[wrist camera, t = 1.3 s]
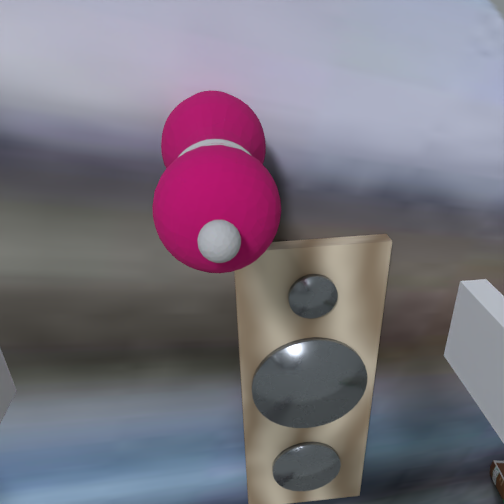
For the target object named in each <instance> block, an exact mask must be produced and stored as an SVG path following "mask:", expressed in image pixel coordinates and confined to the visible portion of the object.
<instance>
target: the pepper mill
mask: <svg viewBox="0 0 504 504" xmlns="http://www.w3.org/2000/svg"><path fill="white" fill-rule="evenodd" d="M161 148H162V157H163V161H164V164H165V166H166V168H167V169H166V170H165V172H164V173H163V174H162V176H161V178H160V180H159V183H158V185H157V187H156V190H155V193H154V200H153V219H154V223H155V227H156V230H157V233H158V235H159V238H160V240H161V241H162V243H163V244H164V246H165V247H166V249H167V250H168V251H169V252H170V253H171V254H172V255H173V256H174V257H175V258H176V259H177V260H179V261H180V262H182V263H184V264H185V265H187V266H189V267H191V268H194V269H197V270H200V271H205V272H209V273H225V272H232V271H235V270H239V269H242V268H244V267H246V266H248V265H250V264H252V263H253V262H254V261H256V260H257V259H258V258H259V257H260V256H261V255H262V254H263V253H264V252H265V251H266V250H267V248H268V247H269V246H270V244H271V243H272V241H273V239H274V237H275V235H276V233H277V230H278V226H279V222H280V216H281V202H280V197H279V193H278V188H277V186H276V184H275V181H274V179H273V177H272V176H271V174H270V173H269V171H268V170H267V169H266V168H265V167H264V166H263V162H264V158H265V149H266V145H265V137H264V132H263V128H262V126H261V123H260V121H259V119H258V118H257V116H256V115H255V113H254V112H253V111H252V109H251V108H250V107H249V106H248V105H246V104H245V103H244V102H242V101H241V100H239V99H238V98H236V97H234V96H231V95H229V94H227V93H224V92H220V91H204V92H200V93H197V94H195V95H193V96H191V97H189V98H188V99H186V100H184V101H183V102H181V103H180V104H179V105H178V106H177V107H176V108H175V109H174V110H173V111H172V112H171V114H170V116H169V117H168V119H167V121H166V123H165V126H164V129H163V133H162V144H161Z"/></svg>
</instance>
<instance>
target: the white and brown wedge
mask: <svg viewBox="0 0 504 504" xmlns="http://www.w3.org/2000/svg"><path fill="white" fill-rule="evenodd" d="M490 475H491V478H492V480H493V482H494V484H495V486H496V488H497V490H498V492H499V494H500V496H501V498H502V500H503V502H504V461H493V462H492V464H491V466H490Z"/></svg>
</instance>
